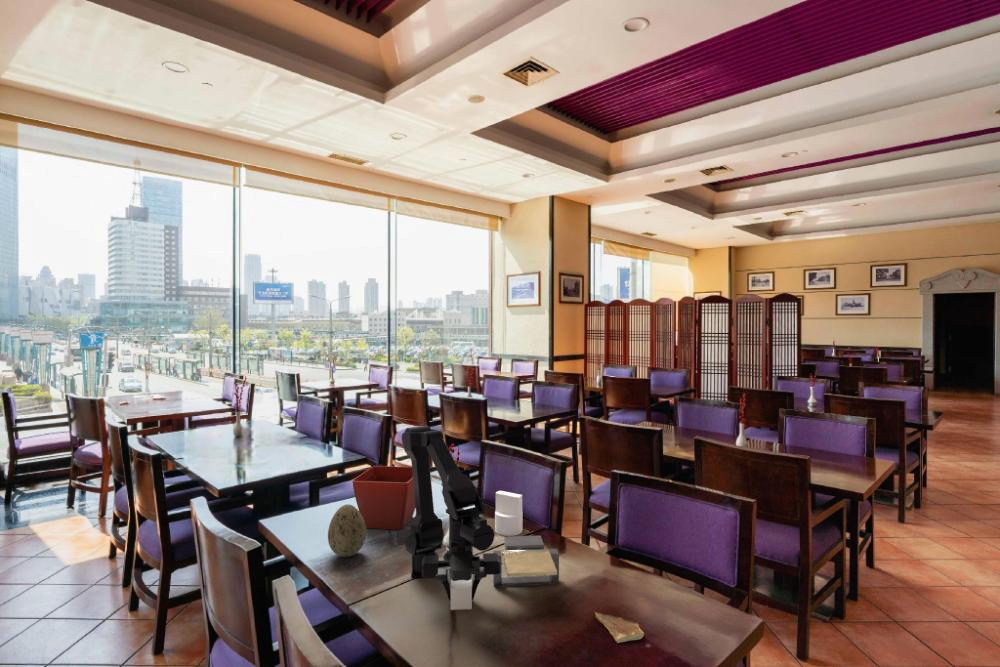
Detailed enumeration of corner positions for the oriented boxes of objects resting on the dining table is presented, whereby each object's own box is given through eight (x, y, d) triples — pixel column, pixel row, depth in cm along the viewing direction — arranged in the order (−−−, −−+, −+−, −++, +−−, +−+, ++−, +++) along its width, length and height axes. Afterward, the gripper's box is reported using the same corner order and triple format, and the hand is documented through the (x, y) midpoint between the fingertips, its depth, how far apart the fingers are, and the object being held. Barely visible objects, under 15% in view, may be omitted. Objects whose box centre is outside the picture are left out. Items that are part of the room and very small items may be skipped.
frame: (493, 586, 134) (493, 555, 134) (493, 581, 137) (493, 550, 137) (558, 584, 135) (558, 553, 135) (556, 578, 138) (556, 548, 138)
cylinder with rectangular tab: (527, 528, 172) (527, 492, 172) (513, 537, 165) (513, 500, 164) (504, 523, 177) (504, 488, 177) (489, 531, 170) (489, 495, 169)
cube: (450, 609, 123) (450, 589, 123) (450, 598, 128) (450, 578, 128) (471, 609, 123) (471, 588, 123) (471, 598, 128) (471, 577, 128)
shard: (594, 617, 121) (594, 609, 121) (624, 613, 123) (624, 605, 123) (615, 645, 110) (616, 637, 110) (648, 640, 112) (648, 632, 112)
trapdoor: (506, 581, 124) (506, 569, 123) (500, 546, 142) (500, 536, 142) (558, 578, 125) (558, 567, 124) (544, 545, 143) (544, 535, 143)
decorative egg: (333, 567, 144) (333, 513, 144) (323, 553, 154) (323, 502, 153) (371, 558, 150) (371, 506, 150) (359, 544, 159) (359, 496, 159)
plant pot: (373, 511, 188) (373, 464, 188) (424, 513, 186) (424, 466, 185) (351, 531, 169) (350, 480, 169) (407, 535, 167) (407, 483, 166)
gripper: (419, 551, 117) (419, 620, 117) (502, 548, 118) (502, 616, 118) (422, 531, 128) (423, 594, 128) (498, 529, 129) (498, 591, 130)
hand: (461, 599), depth 126 cm, fingers closed on cube, 5 cm apart
